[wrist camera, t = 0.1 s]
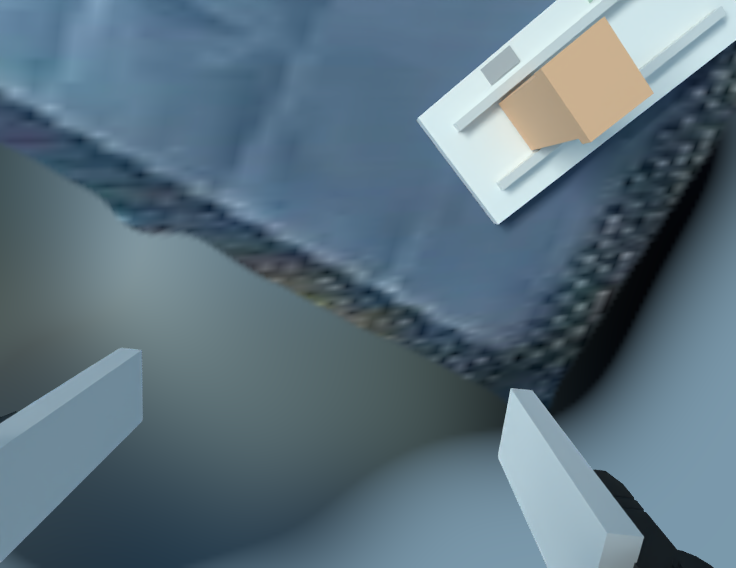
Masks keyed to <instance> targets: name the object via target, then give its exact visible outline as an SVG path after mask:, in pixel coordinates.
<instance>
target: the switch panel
mask: <svg viewBox="0 0 736 568" xmlns="http://www.w3.org/2000/svg"><path fill="white" fill-rule="evenodd" d="M604 16H605V18H606V20H607V21H608V23H609V24H610V26H611V27H612V29H613V30H614V32H615V34H616V35H617V37H618V38H619V40H620V41H621V43H622V44H623V46H624V48H625V49H626V51H627V52H628V54H629V55H630V57H631V58H632V60H633V62H634V63H635V65H636V66H637V68H638V69H639V71H640V72H641V74H642V76H643V77H644V79H645V80H646V82H647V83H648V85H649V86H650V88H651V90H652V91H653V94H652V95H651V96H650V97H648V98H647V99H646V100H645V101H643V102H642V103H641V104H639V105H638V106H637V107H636V108H634V109H633V110H632V111H630V112H629V113H628V114H627V115H625V116H624V117H623V118H621V119H620V120H619V121H618V122H616V123H615V124H614V125H612V126H611V127H610V128H609V129H607V130H606V131H605V132H603V133H602V134H601V135H600V136H598V137H597V138H596V139H595V140H593V141H592V142H590V143H585V144H582V143H581V142H580V140H579V139H576V140H572V141H568V142H564V143H560V144H556V145H552V146H548V147H544V148H540V149H536V150H531V149H530V148H529V146H528V145H527V143H526V142H525V141H524V139H523V138H522V136H521V135H520V134H519V132H518V131H517V129H516V128H515V127H514V125H513V124H512V122H511V121H510V120H509V118H508V117H507V115H506V114H505V113H504V111H503V110H502V108H501V107H500V106H499V103H500V102H501V101H502V100H504V99H505V98H506V97H507V96H508V95H510V94H511V93H512V92H513V91H514V90H516V89H517V88H518V87H519V86H521V85H522V84H523V83H524V82H525V81H527V80H528V79H529V78H530V77H531V76H533V75H534V73H535V72H537V71H538V70H539V69H540V68H542V67H543V66H544V65H545V64H546V63H548V62H549V61H550V60H551V59H552V58H554V57H555V56H556V55H557V54H558V53H560V52H561V51H562V50H563V49H565V48H566V47H567V46H568V45H569V44H571V43H572V42H573V41H574V40H575V39H577V38H578V37H579V36H580V35H581V34H583V33H584V32H585V31H586V30H588V29H589V28H590V27H591V26H592V25H594V24H595V23H596V22H597V21H599V20H600V19H601V18H603V17H604ZM735 40H736V0H557V1H555V2H554V3H553V4H552V5H551V6H549V7H548V8H547V9H546V10H545V11H544V12H542V13H541V14H540V15H539V16H538V17H537V18H535V19H534V20H533V21H532V22H531V23H529V24H528V25H527V26H526V27H525V28H524V29H522V30H521V31H520V32H519V33H518V34H516V35H515V36H514V37H513V38H512V39H511V40H509V41H508V42H507V43H506V44H505V45H503V46H502V47H501V48H500V49H499V50H498V51H496V52H495V53H494V54H493V55H492V56H490V57H489V58H488V59H487V60H486V61H485V62H483V63H482V64H481V65H480V66H479V67H477V68H476V69H475V70H474V71H473V72H472V73H470V74H469V75H468V76H467V77H466V78H464V79H463V80H462V81H461V82H460V83H459V84H457V85H456V86H455V87H454V88H453V89H451V90H450V91H449V92H448V93H447V94H446V95H444V96H443V97H442V98H441V99H440V100H438V101H437V102H436V103H435V104H434V105H433V106H431V107H430V108H429V109H428V110H427V111H426V112H424V113H423V114H422V115H421V116H420V117H418V119H417V120H416V121H417V122H418V123H419V125H420V126H421V127H422V129H423V130H424V131H425V132H426V134H427V135H428V136H429V138H430V139H431V140H432V142H433V143H434V144H435V146H436V147H437V148H438V150H439V151H440V152H441V154H442V155H443V156H444V158H445V159H446V160H447V162H448V163H449V164H450V166H451V167H452V168H453V170H454V171H455V172H456V174H457V175H458V176H459V178H460V179H461V180H462V182H463V183H464V184H465V186H466V187H467V188H468V190H469V191H470V192H471V194H472V195H473V196H474V198H475V199H476V200H477V202H478V203H479V204H480V206H481V207H482V208H483V210H484V211H485V212H486V214H487V215H488V216H489V218H490V219H491V220H492V222H493V223H494V224H500V223H501V222H502V221H503V220H505V219H506V218H507V217H509V216H510V215H511V214H512V213H514V212H515V211H516V210H518V209H519V208H520V207H521V206H523V205H524V204H525V203H527V202H528V201H529V200H530V199H532V198H533V197H534V196H536V195H537V194H538V193H540V192H541V191H542V190H543V189H545V188H546V187H547V186H549V185H550V184H551V183H552V182H554V181H555V180H556V179H558V178H559V177H560V176H561V175H563V174H564V173H565V172H567V171H568V170H569V169H570V168H572V167H573V166H574V165H576V164H577V163H578V162H579V161H581V160H582V159H583V158H585V157H586V156H587V155H588V154H590V153H591V152H592V151H594V150H595V149H596V148H597V147H599V146H600V145H601V144H603V143H604V142H605V141H606V140H608V139H609V138H610V137H612V136H613V135H614V134H616V133H617V132H618V131H619V130H621V129H622V128H623V127H625V126H626V125H627V124H628V123H630V122H631V121H632V120H634V119H635V118H636V117H637V116H639V115H640V114H641V113H643V112H644V111H645V110H646V109H648V108H649V107H650V106H652V105H653V104H654V103H655V102H657V101H658V100H659V99H661V98H662V97H663V96H664V95H666V94H667V93H668V92H670V91H671V90H672V89H673V88H675V87H676V86H677V85H679V84H680V83H681V82H682V81H684V80H685V79H686V78H688V77H689V76H690V75H691V74H693V73H694V72H695V71H697V70H698V69H699V68H701V67H702V66H703V65H704V64H706V63H707V62H708V61H710V60H711V59H712V58H713V57H715V56H716V55H717V54H719V53H720V52H721V51H722V50H724V49H725V48H726V47H728V46H729V45H730V44H731V43H733V42H734V41H735Z"/></svg>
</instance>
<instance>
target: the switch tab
mask: <svg viewBox="0 0 736 568" xmlns="http://www.w3.org/2000/svg"><path fill="white" fill-rule="evenodd" d="M652 94H653V91H652V90H651V88H650V86H649V85H648V83H647V82H646V80H645V79H644V77H643V76H642V74H641V72H640V71H639V69H638V68H637V66H636V65H635V63H634V62H633V60H632V58H631V57H630V55H629V54H628V52H627V51H626V49H625V48H624V46H623V44H622V43H621V41H620V40H619V38H618V37H617V35H616V34H615V32H614V30H613V29H612V27H611V26H610V24H609V23H608V21H607V20H606V18H605V16H604V17H603V18H601V19H600V20H599V21H597V22H596V23H595V24H594V25H592V26H591V27H590V28H589V29H588V30H586V31H585V32H584V33H583V34H581V35H580V36H579V37H578V38H577V39H575V40H574V41H573V42H572V43H571V44H569V45H568V46H567V47H566V48H565V49H563V50H562V51H561V52H560V53H558V54H557V55H556V56H555V57H554V58H552V59H551V60H550V61H549V62H548V63H546V64H545V65H544V66H543V67H542V68H540V69H539V70H538V71H537V72H535V73H534V75H533V76H531V77H530V78H529V79H528V80H527V81H525V82H524V83H523V84H522V85H521V86H519V87H518V88H517V89H516V90H514V91H513V92H512V93H511V94H510V95H508V96H507V97H506V98H505V99H504V100H502V101H501V102H500V103H499V106H500V107H501V108H502V110H503V111H504V113H505V114H506V115H507V117H508V118H509V120H510V121H511V122H512V124H513V125H514V127H515V128H516V129H517V131H518V132H519V134H520V135H521V136H522V138H523V139H524V141H525V142H526V143H527V145H528V146H529V148H530V149H531V150H536V149H540V148H544V147H548V146H552V145H556V144H560V143H564V142H568V141H572V140H576V139H579V140H580V142H581V143H582V144H585V143H590V142H592V141H593V140H595V139H596V138H597V137H598V136H600V135H601V134H602V133H603V132H605V131H606V130H607V129H609V128H610V127H611V126H612V125H614V124H615V123H616V122H618V121H619V120H620V119H621V118H623V117H624V116H625V115H627V114H628V113H629V112H630V111H632V110H633V109H634V108H636V107H637V106H638V105H639V104H641V103H642V102H643V101H645V100H646V99H647V98H648V97H650V96H651V95H652Z"/></svg>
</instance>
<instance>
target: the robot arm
mask: <svg viewBox="0 0 736 568" xmlns="http://www.w3.org/2000/svg"><path fill="white" fill-rule="evenodd" d="M142 401H143V400H142V350H137V349H127V348H119V349H118V350H116V351H114V352H113V353H111V354H110V355H108V356H107V357H105V358H103V359H102V360H100V361H99V362H97V363H95V364H94V365H92V366H91V367H89V368H87V369H86V370H84V371H83V372H81V373H80V374H78V375H76V376H75V377H73V378H71V379H70V380H68V381H67V382H65V383H64V384H62V385H60V386H59V387H57V388H56V389H54V390H52V391H51V392H49V393H48V394H46V395H44V396H43V397H41V398H40V399H38V400H37V401H35V402H33V403H32V404H30V405H29V406H27V407H25V408H24V409H22V410H21V411H19V412H13V413H10V414H8V415H5V416H2V417H0V563H1V562H2V561H3V560H4V559H5V558H6V556H8V554H10V553H11V552H12V551H13V550H14V549H15V548H16V547H17V546H18V545H19V544H20V542H22V541H23V539H24V538H26V537H27V536H28V535H29V534H30V533H31V531H33V530H34V529H35V528H36V527H37V525H38V524H40V523H41V521H43V520H44V519H45V517H47V515H49V514H50V513H51V512H52V510H54V509H55V507H57V506H58V504H60V503H61V502H62V500H64V499H65V497H67V496H68V494H70V493H71V492H72V491H73V490H74V488H75V487H76V486H78V485H79V484H80V482H81V481H83V480H84V479H85V478H86V476H87V475H89V473H91V471H93V470H94V469H95V467H97V466H98V465H99V464H100V463H101V461H103V459H105V457H107V456H108V454H110V453H111V452H112V451H113V450H114V448H115V447H117V445H119V444H120V442H122V441H123V440H124V439H125V438H126V436H128V435H129V434H130V433H131V432H132V431H133V430H134V428H136V427H137V426H138V425H139V424H140V422H142V421H143V403H142ZM498 458H499V461H500V463H501V465H502V467H503V470H504V472H505V474H506V476H507V479H508V481H509V483H510V485H511V487H512V489H513V492H514V494H515V496H516V499H517V501H518V503H519V505H520V507H521V510H522V512H523V514H524V516H525V519H526V521H527V523H528V525H529V527H530V530H531V532H532V534H533V537H534V539H535V541H536V543H537V546H538V548H539V550H540V552H541V554H542V557H543V559H544V561H545V563H546V565H547V568H713V567H712V566H711V565H709V564H708V563H706V562H704V561H703V560H701V559H699V558H698V557H696V556H694V555H691V554H689V553H686V552H684V551H680V550H677V549H676V548H675V547H674V545H673V544H672V543H671V542H670V541H669V539H668V538H667V537H666V536H665V535H664V533H663V532H662V531H661V530H660V528H659V527H658V526H657V525H656V524H655V523H654V521H653V520H652V519H651V518H650V516H649V515H648V514H647V513H646V512H644V509H643V508H642V507H641V506H640V504H639V503H638V502H637V501H636V500H634V497H633V496H632V495H631V493H630V492H629V491H628V490H627V489H626V487H625V486H624V485H623V484H622V483H621V482H620V481H618V480H617V479H615V478H614V477H613V476H611V475H610V474H609V473H607V472H606V471H602V470H593V469H592V468H591V467H590V465H589V464H588V463H587V461H586V460H585V459H584V458H583V456H582V455H581V454H580V452H579V451H578V450H577V448H576V447H575V446H574V444H573V443H572V442H571V441H570V439H569V438H568V437H567V435H566V434H565V433H564V431H563V430H562V429H561V427H560V426H559V425H558V423H557V422H556V421H555V420H554V419H553V417H552V416H551V414H550V413H549V412H548V410H547V409H546V408H545V406H544V405H543V404H542V403H541V401H540V400H539V399H538V397H537V396H536V395H535V393H534V392H533V391H532V390H524V389H514V388H511V390H510V395H509V400H508V406H507V411H506V416H505V421H504V427H503V432H502V438H501V443H500V448H499V453H498Z"/></svg>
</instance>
